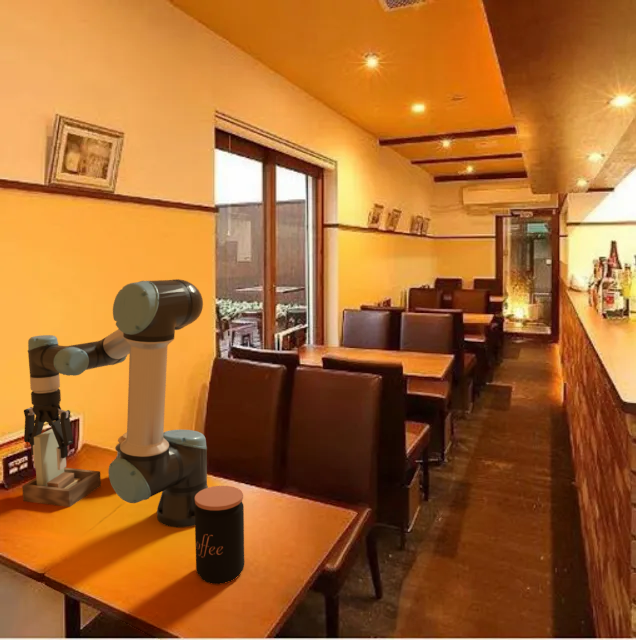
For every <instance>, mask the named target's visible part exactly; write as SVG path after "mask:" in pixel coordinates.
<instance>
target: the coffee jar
mask: <svg viewBox="0 0 636 640" xmlns="http://www.w3.org/2000/svg"><path fill="white" fill-rule="evenodd" d="M243 499H244V492H243V491H242V490H241V489H239V487H238V488H237V487H235V486H229V485H215V486H208V488H205V489H203V490H201V491H199V492H198V493H197V494H196V496H195V504H196V506H195V525H194V529H195V531H194V534H195V539H194V540H195V569H196V570H195V571H196V574H197V575H198V576H199V577H200V579H201V581H204V582H205V583H208V584H211V583H212V584H213V585H221V584H220V583H223V584H226V583H225V582H227V583H229V582H228V581H230V582H232V581H231V580H233V579H234V580H236V579H237V578H238V577H240V575H241V574H240V573H242V572H243V571H244V568H245V525H244V524H245V521H244V520H245V517H244V516H245V514H244V512H245V511H244V510H245V508H244V503H243ZM239 574H240V575H239ZM237 576H238V577H237ZM236 577H237V578H236ZM235 578H236V579H235ZM234 580H233V581H234Z"/></svg>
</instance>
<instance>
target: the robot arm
mask: <svg viewBox="0 0 636 640" xmlns="http://www.w3.org/2000/svg"><path fill="white" fill-rule="evenodd" d="M203 308H204V302H203V297H202V294H201V292H200V290H199V288H198V287H196V286H195V285H194V284H193V283H191V282H190V281H188V280H183V279H179V278H178V279H177V278H176V279H165V280H162V279H161V280H159V279H157V280H141V281H137V282H130V283H127V284H126V285H124V286H122V289H120V290H119V291H118V293H117V294H116V296H115V297H114V301H113V306H112V316H113V321H115V326H116V328H117V329H116V330H114V331H113V332H111V333H110V334H108V335H107V336H106V337H104V338H101V340H97V341H90V342H84V343H79V344H71V345H59V341H58V338H57V336H55V335H51V334H43V335H41V334H40V335H35V336H32V337H30V338H29V339H28V342H27V347H28V350H27V355H28V357H27V358H28V366H29V367H28V368H29V369H28V370H29V383H30V388H29V389H30V391H31V393H30V400H31V405H33V406H30V407H27V408H26V409H23V414H24V431H23V432H24V433H23V436H24V437H23V441H24V442H25V443H29V445H30V451H31V453H30V454H31V455H32V456H33V457H32V458H33V468H36V464H35V448H34V437H35V436H37V435H39V434H42V433H43V429H44V425H45V423H47V424H48V425H49V427H51V429H52V430H53V432H54V435H55V438H56V440H57V443H58V445H59V447H57V448H56V449H57V466H58V470H61V469H63V468H67V457H68V446H70V445H72V444H74V436H73V431H72V426H71V419H70V418H71V417H70V416H71V410H69V409H68V410H64V409H62V408H61V406H60V404H61V400H62V399H61V397H62V395H61V389H60V387H61V382H60V374H61V375H63V376H75V377H76V376H80V375H81V374H82V373H84V372H86V371H87V370H92V369H97V368H102V367H108V366H114V365H118V364H119V363H122V362H124V361H125V360H126V358H127V357H128V356H129V362H128V364H129V365H128V389H127V390H128V391H127V392H128V393H127V395H128V396H127V420H126V421H127V422H126V433H127V439H125V440H124V441H123V442H122V443H121V444H120V457H119V458H116V457H115V458H114V459H113V460H112V461H111V463H109V466H108V478H109V483H110V485H111V487H112V489H113V490H114V492H115V493H116V495H117V496H118V497H119V498H120V499H122V501H124V502H126V503H129V504H136V503H137V504H138V503H140V502H142V501H146V500H149V499H150V498H151V497H153V496H155V495H157V494H160V493H161V495H160V499H159V502H158V504H157V508H156V515H157V516H156V518H157V521H158V522H159V523H160V524H162V525H164V526H167V527H171V528H186V527H187V528H189V527H193V526H194V527H195V506H196V504H195V496H196V494H197V493H198V492H199V491H201V490H203V489H205V488H209V486H208V459H207V458H208V456H207V455H208V453H207V451H208V446H207V440H206V437H205V434H203V433H202V432H199V431H198V430H192V429H172V430H171V429H170V430H166V431H165V430H164V429H165V410H166V409H165V408H166V406H165V405H166V387H167V385H166V384H167V365H168V364H167V362H168V346H169V344H171V343H172V342H173V341H174V340H175V332H176V331H178V330H181V329H184V328H185V327H187V326H190V324H192V323H194V322H195V321H197V319H199V317H200V316H201V314H202V312H203Z"/></svg>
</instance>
